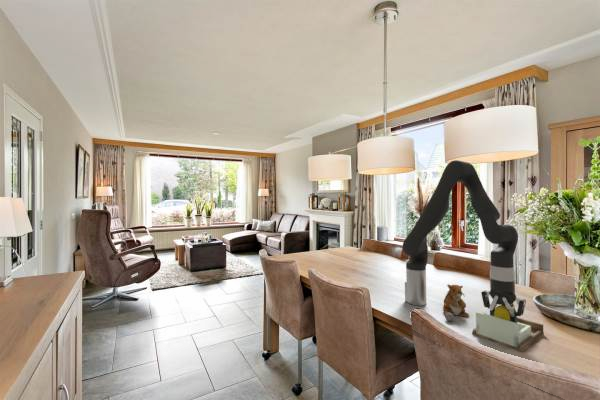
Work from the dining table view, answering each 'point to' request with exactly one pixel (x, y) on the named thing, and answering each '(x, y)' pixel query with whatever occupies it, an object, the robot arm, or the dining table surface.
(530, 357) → the dining table surface
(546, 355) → the dining table surface
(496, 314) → the lemon
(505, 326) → the pale green block
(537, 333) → the rail board
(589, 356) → the dining table surface
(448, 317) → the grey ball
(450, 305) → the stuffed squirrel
